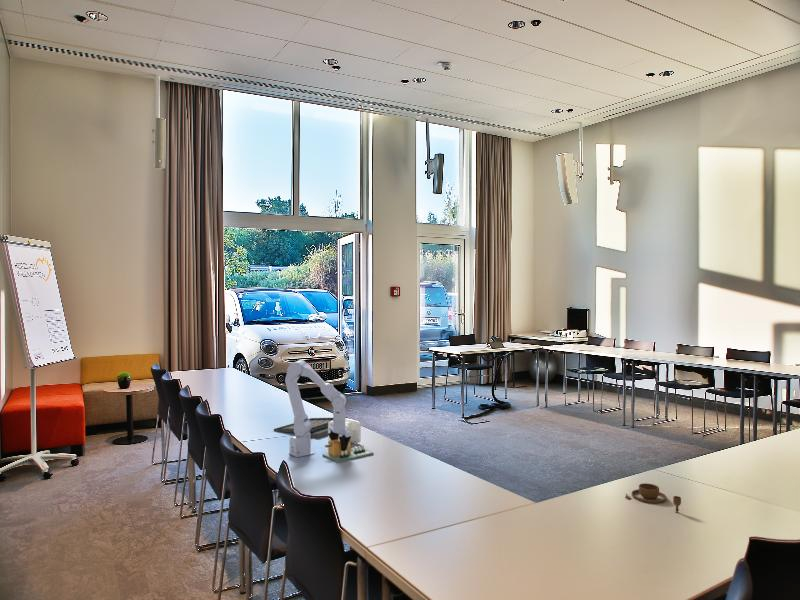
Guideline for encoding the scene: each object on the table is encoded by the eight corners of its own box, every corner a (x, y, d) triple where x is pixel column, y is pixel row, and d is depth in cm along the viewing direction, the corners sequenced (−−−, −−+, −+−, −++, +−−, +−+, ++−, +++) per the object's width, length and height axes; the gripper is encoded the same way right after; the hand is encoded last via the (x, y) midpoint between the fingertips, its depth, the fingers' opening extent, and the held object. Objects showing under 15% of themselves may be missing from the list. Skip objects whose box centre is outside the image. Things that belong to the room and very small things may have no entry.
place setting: (671, 496, 214) (671, 480, 213) (684, 516, 194) (684, 499, 194) (622, 491, 218) (622, 476, 218) (629, 511, 199) (629, 494, 199)
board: (338, 462, 253) (338, 460, 253) (322, 456, 263) (322, 453, 263) (373, 454, 266) (373, 452, 266) (357, 448, 276) (357, 446, 276)
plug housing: (328, 457, 258) (328, 444, 258) (322, 454, 262) (322, 441, 262) (350, 452, 266) (350, 439, 266) (344, 450, 270) (344, 437, 270)
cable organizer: (362, 444, 283) (362, 421, 283) (346, 449, 276) (346, 425, 276) (342, 439, 294) (342, 417, 293) (326, 443, 286) (326, 420, 286)
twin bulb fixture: (341, 458, 256) (341, 451, 256) (339, 457, 257) (339, 451, 257) (348, 456, 259) (348, 450, 259) (347, 456, 260) (347, 449, 260)
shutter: (275, 441, 311) (318, 441, 294) (273, 429, 311) (316, 428, 295) (312, 427, 338) (354, 426, 322) (311, 415, 338) (353, 414, 322)
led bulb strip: (355, 453, 264) (355, 447, 264) (353, 453, 265) (353, 446, 265) (365, 451, 267) (365, 445, 267) (363, 450, 268) (363, 444, 268)
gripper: (355, 421, 262) (355, 451, 262) (337, 416, 273) (338, 444, 273) (342, 424, 257) (342, 453, 257) (325, 418, 268) (325, 447, 268)
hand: (339, 449), depth 265 cm, fingers open, 7 cm apart
